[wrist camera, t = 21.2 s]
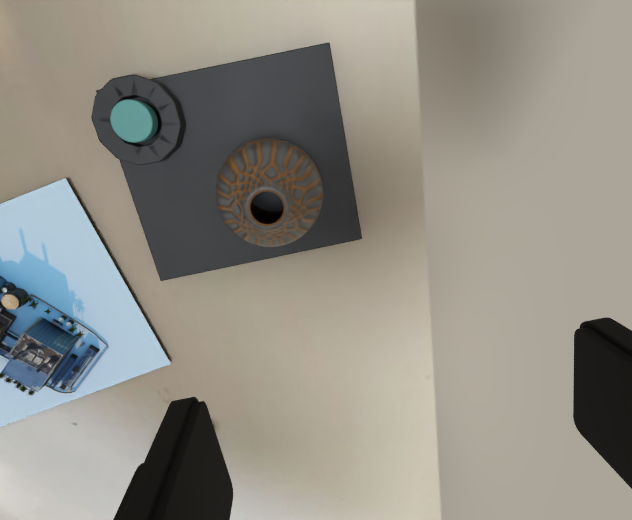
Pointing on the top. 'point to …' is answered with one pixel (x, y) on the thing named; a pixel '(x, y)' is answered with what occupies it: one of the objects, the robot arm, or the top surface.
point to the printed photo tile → (63, 308)
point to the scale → (228, 152)
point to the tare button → (134, 121)
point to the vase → (269, 192)
